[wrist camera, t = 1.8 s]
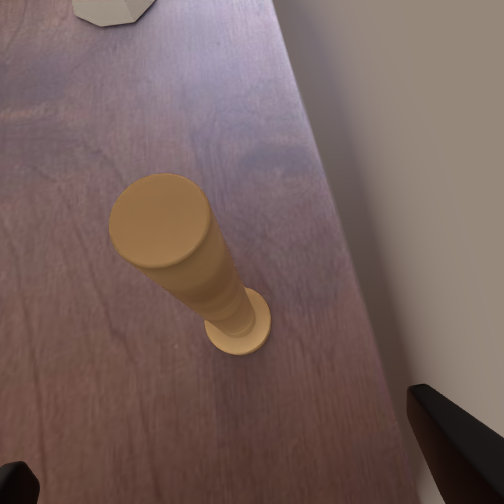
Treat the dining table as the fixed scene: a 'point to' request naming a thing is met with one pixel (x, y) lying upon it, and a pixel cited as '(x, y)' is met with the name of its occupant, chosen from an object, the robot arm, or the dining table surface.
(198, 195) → the tan wooden rod
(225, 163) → the dining table surface
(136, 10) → the flask
